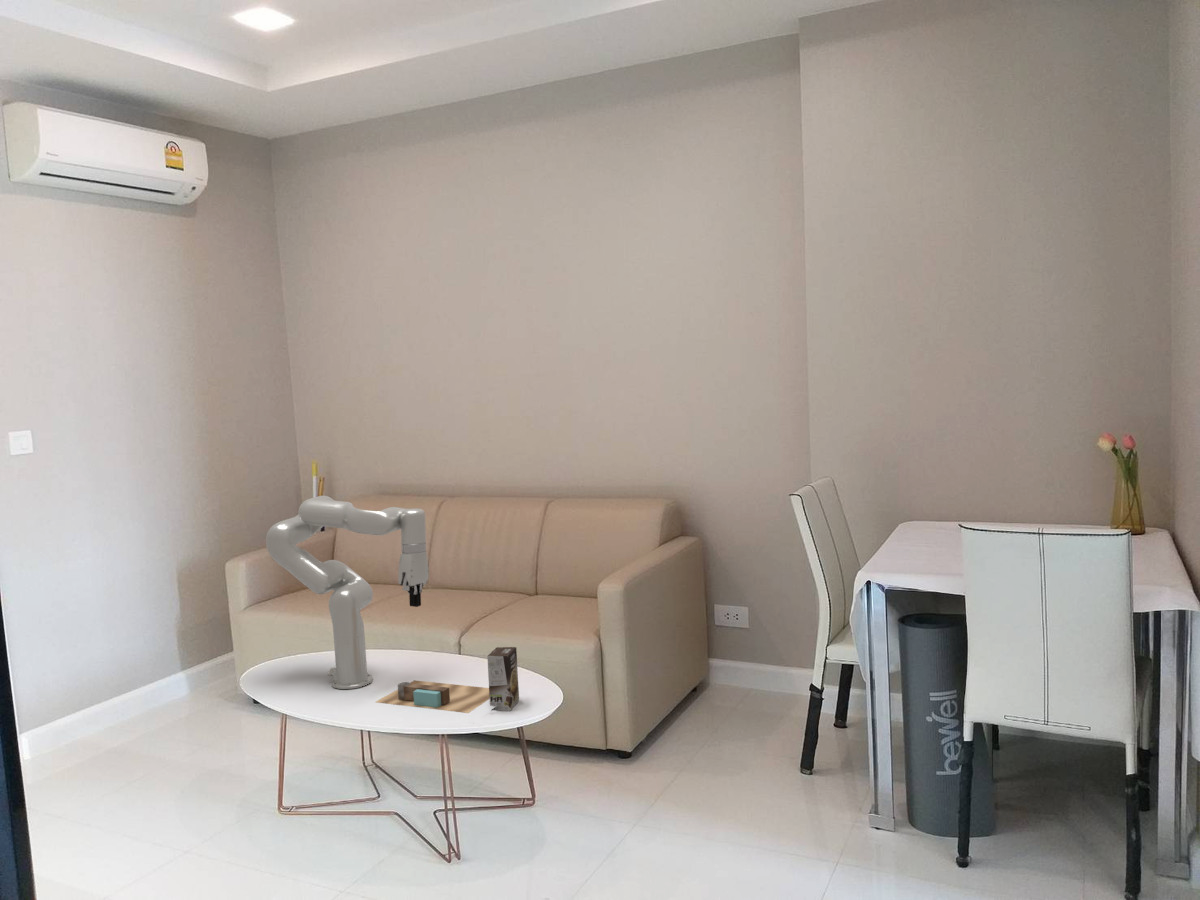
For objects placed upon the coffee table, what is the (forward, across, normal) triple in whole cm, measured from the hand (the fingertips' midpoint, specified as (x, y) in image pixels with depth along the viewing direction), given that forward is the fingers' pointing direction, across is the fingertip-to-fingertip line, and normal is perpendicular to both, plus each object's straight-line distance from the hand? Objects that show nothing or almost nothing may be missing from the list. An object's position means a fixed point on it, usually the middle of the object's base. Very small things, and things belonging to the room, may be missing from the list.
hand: (415, 605), depth 283 cm
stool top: (+25, +10, +16) cm, 31 cm away
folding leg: (+23, +16, +14) cm, 31 cm away
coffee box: (+24, +8, +37) cm, 45 cm away
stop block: (+23, +18, +18) cm, 34 cm away
